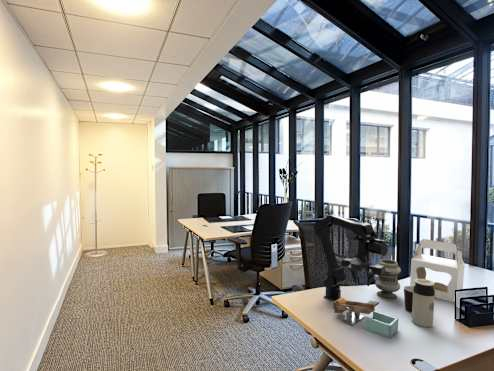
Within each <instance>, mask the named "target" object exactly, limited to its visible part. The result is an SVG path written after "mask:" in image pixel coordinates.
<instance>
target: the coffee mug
mask: <svg viewBox="0 0 494 371" xmlns="http://www.w3.org/2000/svg"><path fill="white" fill-rule="evenodd" d="M413 287H414V286H410V285H406V286H403V294H404V295H403V297H404V308H405V311H406V312H408V313H411V314H412V304H413Z"/></svg>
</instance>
